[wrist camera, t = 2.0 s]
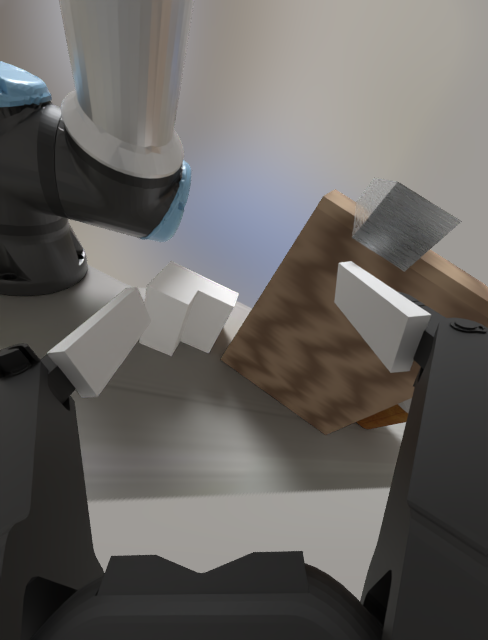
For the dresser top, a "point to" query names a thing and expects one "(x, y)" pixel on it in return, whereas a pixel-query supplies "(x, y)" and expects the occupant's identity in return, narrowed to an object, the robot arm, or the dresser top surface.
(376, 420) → the disposable coffee cup
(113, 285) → the dresser top surface
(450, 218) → the steel bar
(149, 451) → the dresser top surface
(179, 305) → the corner bracket
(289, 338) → the walnut shelf
